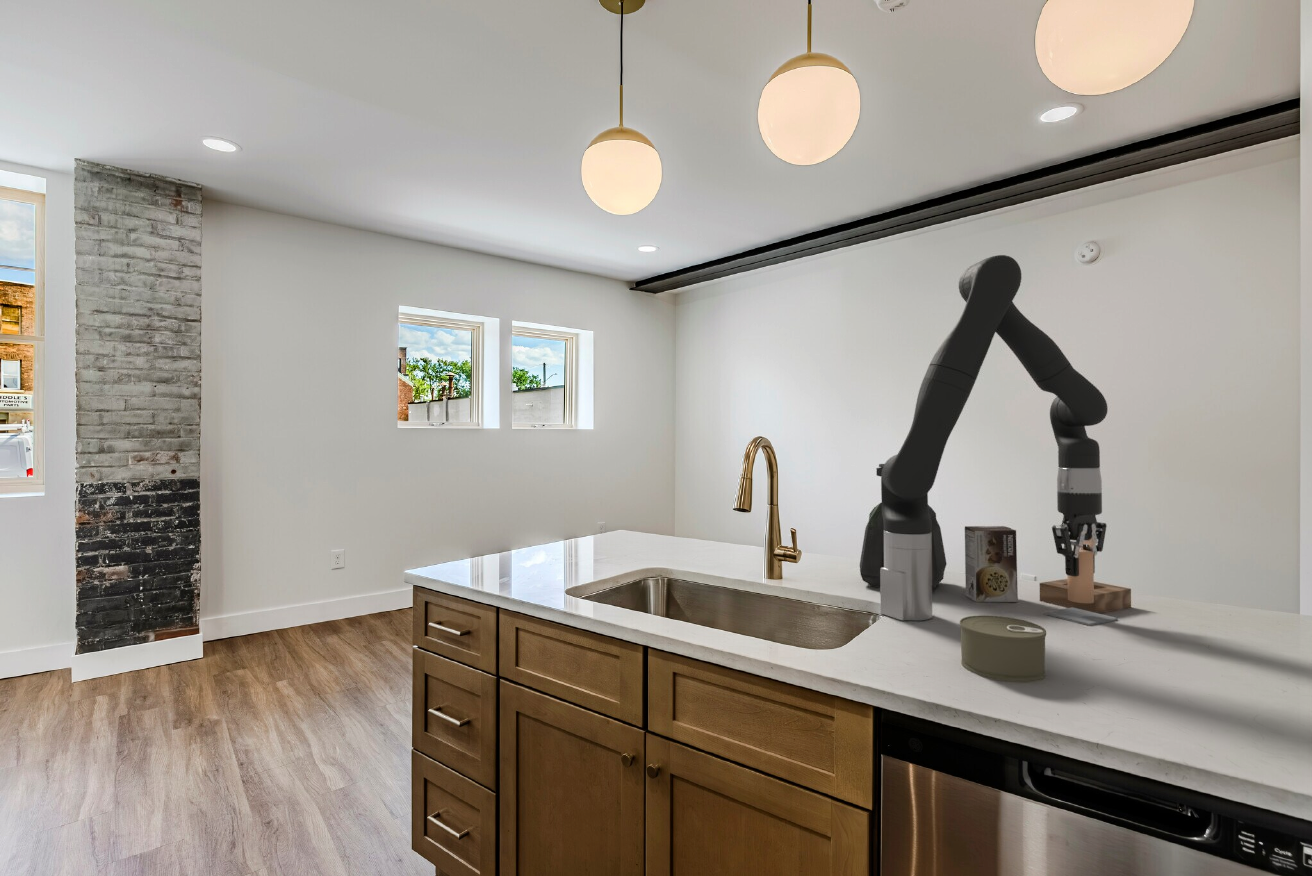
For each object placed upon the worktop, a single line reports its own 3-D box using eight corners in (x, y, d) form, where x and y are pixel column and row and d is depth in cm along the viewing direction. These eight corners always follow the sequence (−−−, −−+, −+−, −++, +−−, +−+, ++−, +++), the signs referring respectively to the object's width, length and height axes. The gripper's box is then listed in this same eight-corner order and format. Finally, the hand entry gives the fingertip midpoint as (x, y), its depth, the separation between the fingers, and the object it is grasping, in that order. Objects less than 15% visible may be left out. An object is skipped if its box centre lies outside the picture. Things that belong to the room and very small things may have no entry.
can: (963, 651, 109) (963, 611, 109) (1045, 664, 103) (1045, 621, 103) (956, 674, 98) (956, 630, 98) (1047, 689, 92) (1047, 642, 92)
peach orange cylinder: (1084, 604, 126) (1084, 553, 126) (1062, 599, 130) (1062, 550, 130) (1098, 601, 127) (1098, 552, 127) (1076, 596, 131) (1076, 548, 131)
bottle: (857, 586, 156) (856, 464, 156) (875, 574, 170) (874, 462, 170) (936, 596, 146) (934, 466, 147) (948, 582, 160) (947, 463, 160)
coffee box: (1005, 595, 147) (1004, 525, 147) (1018, 602, 140) (1018, 529, 140) (964, 595, 147) (963, 525, 148) (975, 602, 141) (974, 529, 141)
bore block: (1095, 614, 131) (1095, 594, 131) (1039, 600, 142) (1039, 582, 142) (1131, 607, 136) (1130, 588, 136) (1074, 595, 147) (1074, 577, 147)
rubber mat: (1089, 625, 123) (1089, 623, 123) (1044, 614, 131) (1043, 612, 131) (1117, 620, 126) (1117, 618, 126) (1072, 609, 135) (1072, 607, 135)
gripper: (1075, 492, 122) (1076, 581, 122) (1120, 489, 128) (1121, 574, 128) (1037, 490, 129) (1038, 574, 129) (1082, 487, 135) (1083, 568, 135)
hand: (1080, 574), depth 129 cm, fingers closed on peach orange cylinder, 4 cm apart
